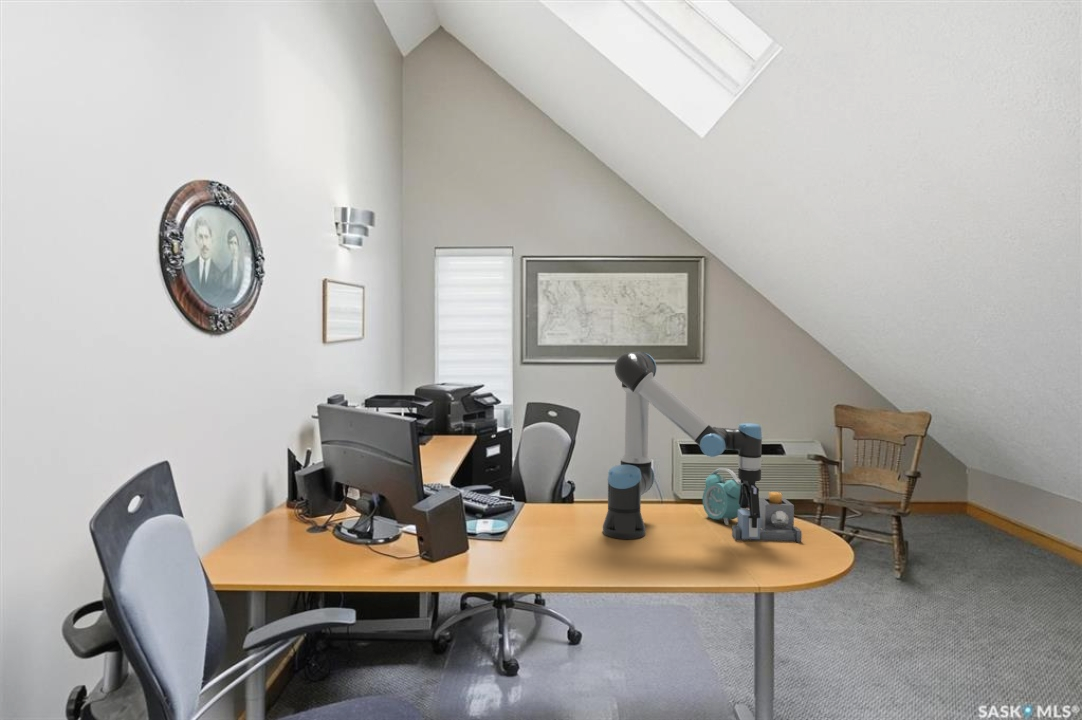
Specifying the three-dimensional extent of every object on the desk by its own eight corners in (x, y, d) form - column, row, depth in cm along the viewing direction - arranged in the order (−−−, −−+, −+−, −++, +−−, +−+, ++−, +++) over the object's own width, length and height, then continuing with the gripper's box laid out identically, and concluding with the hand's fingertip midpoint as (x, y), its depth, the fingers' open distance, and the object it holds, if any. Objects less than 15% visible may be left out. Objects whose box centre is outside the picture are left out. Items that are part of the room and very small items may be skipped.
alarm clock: (697, 515, 236) (698, 465, 235) (716, 512, 240) (717, 463, 239) (728, 527, 220) (729, 474, 220) (748, 524, 224) (748, 471, 224)
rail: (735, 540, 206) (735, 529, 206) (732, 536, 211) (732, 524, 211) (801, 542, 204) (801, 531, 204) (796, 537, 209) (796, 526, 209)
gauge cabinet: (765, 532, 215) (766, 505, 214) (757, 523, 225) (757, 497, 225) (794, 533, 214) (794, 505, 214) (784, 524, 225) (784, 498, 224)
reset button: (771, 504, 218) (771, 494, 218) (767, 501, 222) (767, 491, 222) (783, 504, 217) (783, 494, 217) (779, 501, 222) (779, 491, 222)
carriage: (742, 539, 205) (742, 515, 204) (737, 532, 212) (737, 509, 211) (760, 539, 204) (760, 515, 204) (754, 533, 211) (754, 509, 211)
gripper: (771, 475, 196) (770, 542, 196) (751, 461, 218) (750, 521, 219) (747, 475, 196) (746, 542, 197) (730, 461, 219) (729, 521, 220)
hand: (748, 531), depth 208 cm, fingers open, 10 cm apart
